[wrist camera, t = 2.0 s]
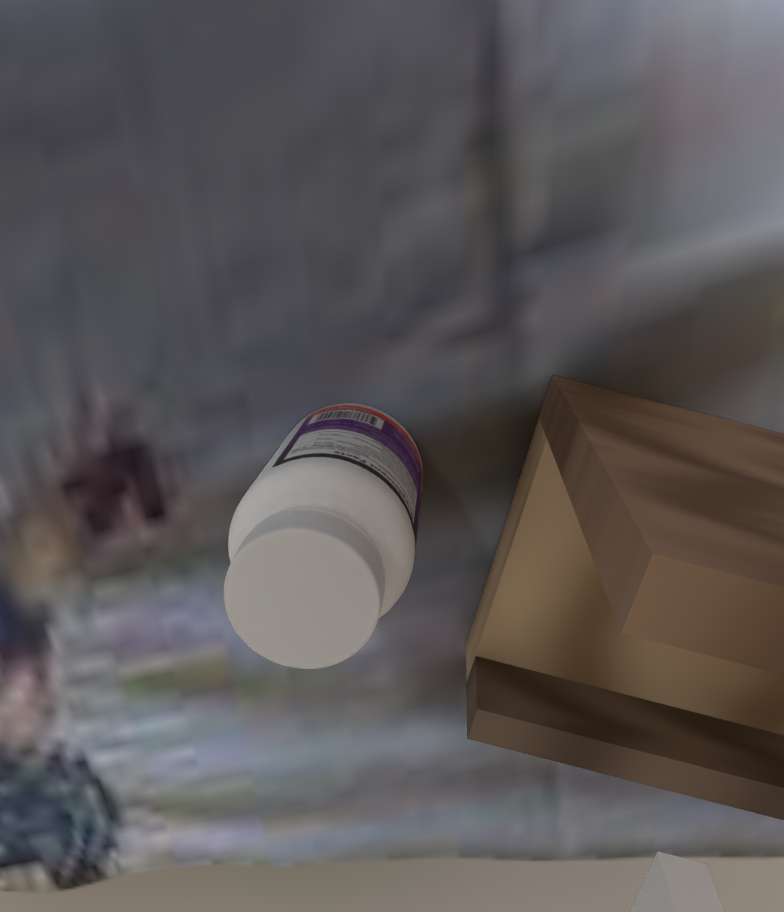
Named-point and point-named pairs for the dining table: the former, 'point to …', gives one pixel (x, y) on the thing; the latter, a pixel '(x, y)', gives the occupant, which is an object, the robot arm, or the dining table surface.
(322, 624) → the pill bottle
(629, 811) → the dining table surface
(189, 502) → the dining table surface
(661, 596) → the cleat board
